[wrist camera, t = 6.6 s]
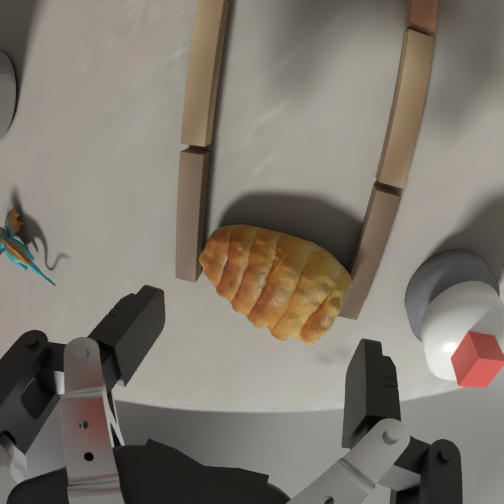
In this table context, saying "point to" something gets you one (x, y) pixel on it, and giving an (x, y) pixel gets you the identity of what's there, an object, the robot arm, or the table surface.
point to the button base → (443, 281)
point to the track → (390, 166)
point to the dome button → (465, 334)
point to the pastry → (277, 280)
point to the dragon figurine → (16, 245)
